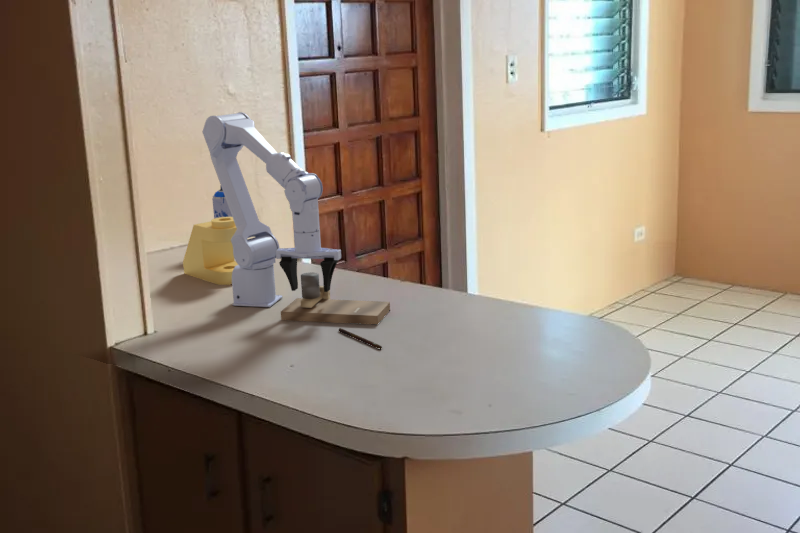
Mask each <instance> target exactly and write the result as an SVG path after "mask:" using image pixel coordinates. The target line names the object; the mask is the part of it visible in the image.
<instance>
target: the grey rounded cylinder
mask: <svg viewBox="0 0 800 533" xmlns="http://www.w3.org/2000/svg"><path fill="white" fill-rule="evenodd" d="M300 282H301V283H300V284H301V285H300V286H301V288H300V289H301V298H303V299H302V300H301V307H306V308H312V307H313V306H314V305H315V304H316V303H317V302H318V301H320V300H321V299H331V289H330V290H329V291H328V292H324V285H320V274H319V273H318V272H304V273H301V274H300Z"/></svg>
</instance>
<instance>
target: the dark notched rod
mask: <svg viewBox="0 0 800 533" xmlns="http://www.w3.org/2000/svg"><path fill="white" fill-rule="evenodd" d="M339 331H340V332H339ZM338 332H339V333H341V332H342V333H341V334H343V333H344V334H343V335H345V334H347V335H346V336H348V335H349V336H348V337H350V336H351V337H350V338H352V337H354V338H356V339H355V340H357V339H358V340H357V341H359V340H361V341H363V342H365V343H364V344H366V343H368V344H370V345H372V346H374V347H373V348H375V347H377V348H380V349H381V348H382V349H383V346H382V345H380V344H378V343H375V342H373V341H371V340H368V339H366V338H365V337H363V336H360V335H357V334H355V333H353V332H350V331H348V330H345V329H344V328H341V327H340V328H338ZM354 338H353V339H354ZM361 341H360V342H361ZM363 342H362V343H363ZM368 344H367V345H368ZM370 345H369V346H370ZM372 346H371V347H372ZM377 348H376V349H377Z"/></svg>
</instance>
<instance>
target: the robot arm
mask: <svg viewBox="0 0 800 533" xmlns="http://www.w3.org/2000/svg"><path fill="white" fill-rule="evenodd" d="M202 136H203V137H204V140H205V143H206V146H207V148H208V151H209V156H210V160H211V162H212V165H213V167H214V170H215V174H216V175H217V178H218V181H219V184H220V185H221V186H220V188H221V187H222V190H223V192H224V195H225V198H226V201H227V203H228V206H229V209H230V211H231V214H232V217H233V220H234V222H235V225H236V228H237V230H236V232H235V233H234V235H233V237H232V238H231V242H232V245H233V255H234V259H235V261H236V262H237V264H238V265H236V266H235V267H234V269H233V272H232V287H231V288H232V297H233V303H232V306H239V307H258V308H270V307H272V306H274V305H275V304H276V303H277V302H278V301H280V300H281V299H282V298H283V295H281V294H280V295H279V294H276V293H277V292H276V291H277V290H276V280H275V268H274V267H275V266H274V264H276V259H279V260H280V261H279V262H278V264H279V266H280V267H281V269H282V270H283V272H284V273H285V276H286V277H287V279H288V280H287V281H288V283H289V287H290V289H291V291H292V292H295V291H296V290H297V289H299V284H298V283H299V282H298V281H299V280H298V259H303V260H304V259H305V260H306V259H309V260H311V259H312V260H322V261H320V267H321V273H322V280H323V285H322V286H324V292H328V291H329V290H330V291H331V286H332V285H331V284H332V279H333V275H334V272H335V268H336V267H337V264H338V262H339V260H341V259H342V250H341V249H335V248H334V249H333V248H328V247H322V243H321V242H322V241H321V229H320V228H321V227H320V211H319V199H320V198H321V196H323V192H324V191H323V190H324V186H323V182H322V180H321V179H320V177H319V176H318V175H317V174H316V173H313V172H308V171H305V170H304V169H303V168H301V167H300V165H298V164H297V163H296V162H295V161H294V160H293V159H292V155H290V154H289V153H287V152H286V153H285V152H278V151H276V149H274V147H273V146H272V145H271V144H270V143H269V142H268V141H267V140H266V139H265V138H264V136H263V135H262V134H261V133H260V132H259V131H258V130H257V129H256V126H255V121H254V120H253V119H251V118H250V116H249V115H248V114H246V112H242V111H239V112H236V113H231V114H230V113H229V114H221V115H210V116H208V117H207V118H206V120H205V122H204V125H203V128H202ZM243 147H245V148H247V149H248V151H250V152H251V153H252V154H254V155H255V156H256V157H257V158H259V159H260V160H261V161H262V162H263V163H264V164H266V165H265V171H266V172H267V173H268V175H270V176H271V177H272V178H273V180H275V181H276V182H277V183H278V185H280V186H281V187H282V189H284V190H283V191H284V196H285V198H286V200H287V201H288V203H289V209H290V211H291V213H292V226H293V227H292V228H293V241H294V247H287V248H285V247H284V248H281V247H280V244H279V241H278V239H277V238H276V236H275V235H274V234H273V232H272V230H271V227H270V226H268V225H267V224H265V223H264V222H262V221H260V220H259V216H258V213H257V210H256V208H255V206H254V203H253V199H252V198H251V194H250V192H249V190H248V187H247V184H246V181H245V178H244V176H243V174H242V170H241V167H240V165H239V163H238V159H237V157H238V154H239V152H240V151H241V150H242V149H243Z"/></svg>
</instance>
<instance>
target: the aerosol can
mask: <svg viewBox="0 0 800 533" xmlns="http://www.w3.org/2000/svg"><path fill="white" fill-rule="evenodd" d="M212 210H213V211H212V212H213V219H215V218H220V217H232V214H231V211H230V209H229V206H228V203H227V201H226V198H225V195H224V192H223V190H222V187H221V184H220V189H218V190H217V191H215V192H214V194H213V195H212Z"/></svg>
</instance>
